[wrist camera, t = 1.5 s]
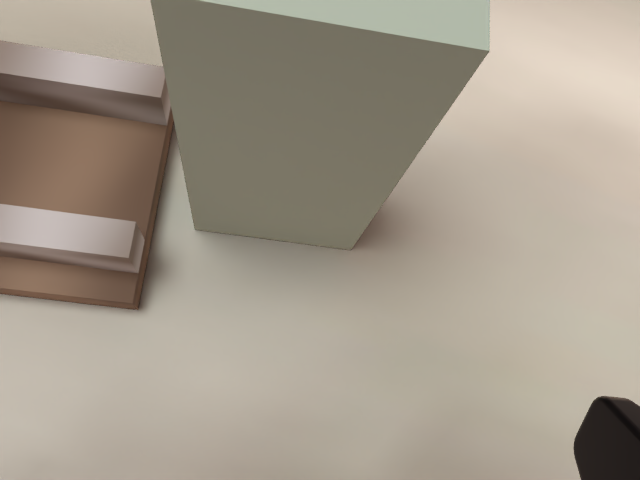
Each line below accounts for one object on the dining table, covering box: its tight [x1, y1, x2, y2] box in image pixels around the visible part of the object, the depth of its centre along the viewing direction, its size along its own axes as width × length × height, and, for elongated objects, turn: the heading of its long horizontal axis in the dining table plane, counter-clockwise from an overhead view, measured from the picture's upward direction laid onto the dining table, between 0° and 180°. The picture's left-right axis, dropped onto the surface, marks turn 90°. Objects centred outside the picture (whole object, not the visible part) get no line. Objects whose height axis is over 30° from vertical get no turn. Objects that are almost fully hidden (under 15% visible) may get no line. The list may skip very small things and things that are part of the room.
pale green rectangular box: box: [151, 0, 490, 250], centre depth 17 cm, size 6×2×13 cm, turn 85°
